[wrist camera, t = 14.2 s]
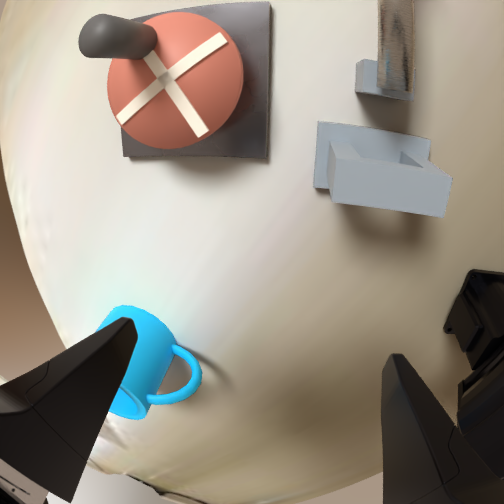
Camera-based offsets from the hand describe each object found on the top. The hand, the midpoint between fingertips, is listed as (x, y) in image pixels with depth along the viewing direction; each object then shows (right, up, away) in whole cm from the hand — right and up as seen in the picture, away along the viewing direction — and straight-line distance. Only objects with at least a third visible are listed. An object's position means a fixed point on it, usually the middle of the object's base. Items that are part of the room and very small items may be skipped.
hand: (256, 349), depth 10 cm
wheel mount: (-4, +14, +7) cm, 16 cm away
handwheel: (-4, +13, +6) cm, 15 cm away
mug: (-10, -6, +20) cm, 23 cm away
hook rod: (+7, +17, 0) cm, 19 cm away
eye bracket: (+7, +10, +6) cm, 14 cm away
